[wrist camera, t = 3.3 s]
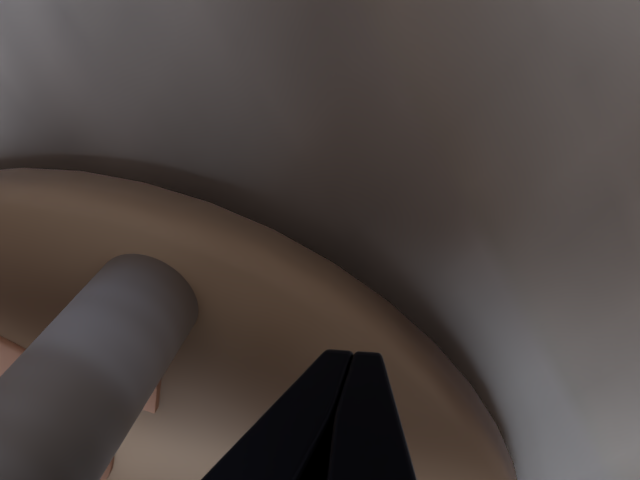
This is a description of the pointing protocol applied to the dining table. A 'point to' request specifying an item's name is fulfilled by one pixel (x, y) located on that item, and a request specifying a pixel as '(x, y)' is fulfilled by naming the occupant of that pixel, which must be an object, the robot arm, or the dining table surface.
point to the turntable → (188, 337)
